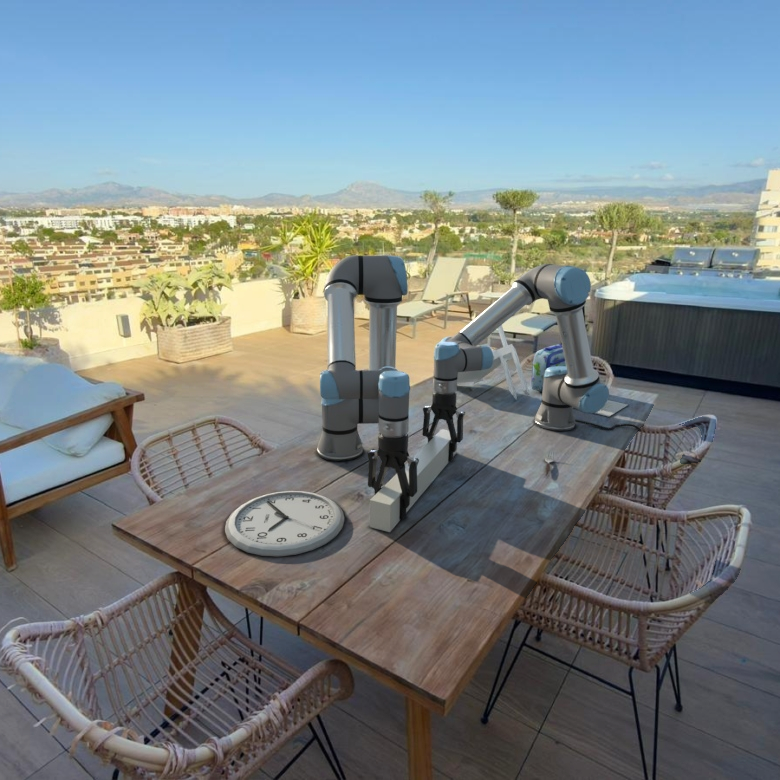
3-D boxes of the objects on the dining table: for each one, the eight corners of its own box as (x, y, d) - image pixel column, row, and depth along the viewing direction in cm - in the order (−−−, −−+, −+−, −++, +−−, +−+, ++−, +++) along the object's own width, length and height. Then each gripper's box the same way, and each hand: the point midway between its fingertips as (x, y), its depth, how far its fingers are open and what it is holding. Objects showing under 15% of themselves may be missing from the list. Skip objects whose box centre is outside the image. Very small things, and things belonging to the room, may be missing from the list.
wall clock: (344, 547, 121) (211, 552, 118) (344, 554, 121) (212, 558, 119) (344, 486, 149) (237, 489, 147) (344, 491, 150) (237, 494, 147)
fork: (541, 476, 161) (542, 470, 161) (545, 456, 176) (546, 450, 175) (550, 477, 161) (551, 471, 160) (553, 457, 175) (554, 451, 174)
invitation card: (608, 416, 214) (573, 407, 224) (608, 416, 214) (573, 408, 224) (628, 404, 229) (594, 396, 238) (628, 405, 229) (594, 397, 238)
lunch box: (547, 397, 237) (552, 352, 231) (526, 391, 245) (531, 348, 238) (574, 386, 255) (580, 344, 249) (554, 381, 262) (559, 340, 256)
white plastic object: (461, 429, 252) (437, 405, 227) (444, 352, 274) (420, 323, 250) (535, 404, 240) (518, 377, 215) (510, 326, 262) (492, 293, 237)
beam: (440, 450, 180) (441, 429, 177) (456, 453, 177) (457, 431, 175) (369, 527, 133) (369, 499, 131) (389, 532, 131) (390, 504, 128)
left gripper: (353, 431, 131) (353, 512, 138) (422, 444, 124) (419, 530, 131) (366, 422, 138) (366, 500, 145) (433, 434, 130) (429, 516, 137)
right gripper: (412, 390, 165) (410, 457, 172) (469, 398, 158) (465, 468, 165) (421, 384, 172) (419, 449, 179) (476, 392, 165) (472, 459, 171)
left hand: (391, 514), depth 138 cm, fingers closed on beam, 6 cm apart
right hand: (441, 458), depth 172 cm, fingers closed on beam, 6 cm apart
